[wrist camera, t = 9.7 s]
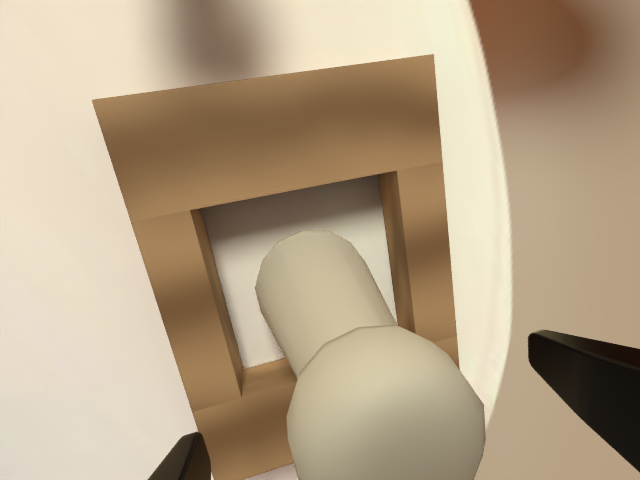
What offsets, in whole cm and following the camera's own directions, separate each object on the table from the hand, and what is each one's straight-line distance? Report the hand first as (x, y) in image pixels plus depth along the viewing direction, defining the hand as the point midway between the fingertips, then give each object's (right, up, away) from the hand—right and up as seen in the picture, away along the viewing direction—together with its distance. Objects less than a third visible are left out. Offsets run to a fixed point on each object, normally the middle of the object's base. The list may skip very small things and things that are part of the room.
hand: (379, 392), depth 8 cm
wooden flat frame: (-2, +2, +10) cm, 11 cm away
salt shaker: (-2, +2, +10) cm, 11 cm away
